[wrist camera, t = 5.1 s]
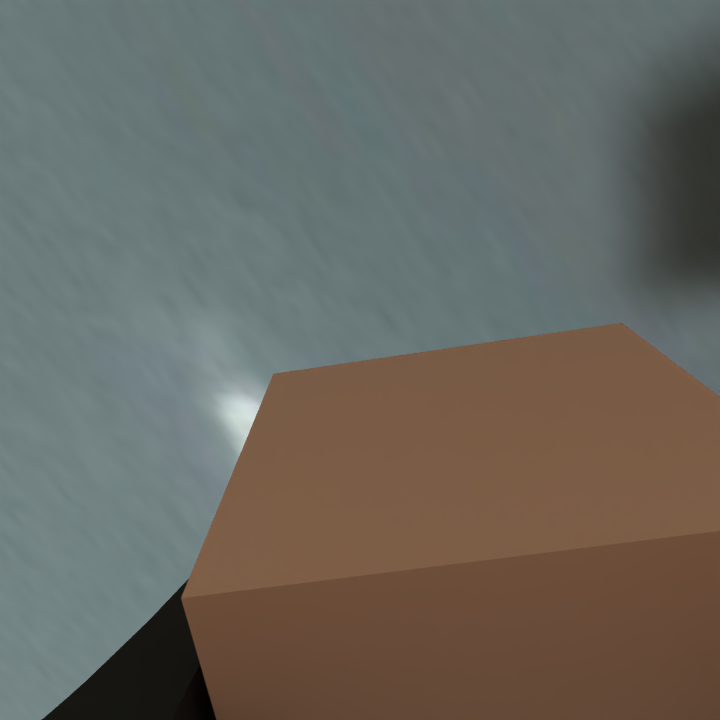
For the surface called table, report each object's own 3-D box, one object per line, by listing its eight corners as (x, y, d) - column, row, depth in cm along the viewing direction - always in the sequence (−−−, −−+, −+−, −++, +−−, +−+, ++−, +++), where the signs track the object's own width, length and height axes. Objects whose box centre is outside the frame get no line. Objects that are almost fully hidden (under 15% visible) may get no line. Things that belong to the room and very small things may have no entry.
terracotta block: (621, 322, 9) (872, 511, 5) (632, 614, 11) (830, 977, 6) (273, 373, 10) (181, 597, 5) (332, 650, 11) (303, 1020, 7)
